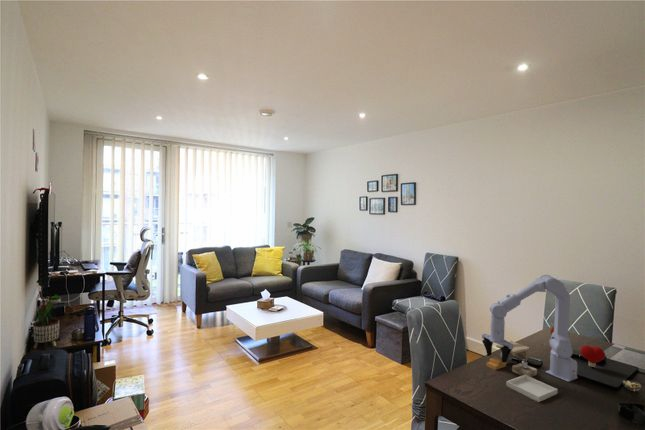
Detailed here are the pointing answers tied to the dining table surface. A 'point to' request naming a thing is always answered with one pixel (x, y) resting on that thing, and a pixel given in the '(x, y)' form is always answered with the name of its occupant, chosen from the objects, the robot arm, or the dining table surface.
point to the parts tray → (531, 388)
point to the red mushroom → (592, 354)
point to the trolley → (516, 351)
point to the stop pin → (524, 364)
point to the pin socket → (521, 371)
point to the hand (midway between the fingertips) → (496, 358)
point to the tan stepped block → (495, 363)
